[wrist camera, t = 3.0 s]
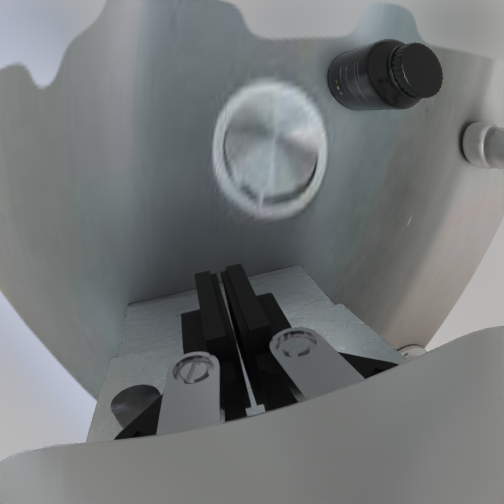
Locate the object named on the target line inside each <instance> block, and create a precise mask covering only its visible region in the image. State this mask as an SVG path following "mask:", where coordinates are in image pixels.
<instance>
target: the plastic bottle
mask: <svg viewBox="0 0 504 504" xmlns="http://www.w3.org/2000/svg"><path fill="white" fill-rule="evenodd" d="M462 146H463V151H464V154H465V156H466V158H467V159H468V160H469V162H470V163H471V164H473V165H475V166H477V167H480V168H498V169H504V128H501V127H497V126H495V125H492V124H489V123H486V122H475V123H472V124H471V125H469V126H468V127H467V128H466V130H465V132H464V135H463V140H462Z"/></svg>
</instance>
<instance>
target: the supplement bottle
mask: <svg viewBox="0 0 504 504" xmlns="http://www.w3.org/2000/svg"><path fill="white" fill-rule="evenodd" d="M442 75H443V73H442V68H441V65H440V62H439V60H438V58H437V57H436V55H435V54H434V53H433V52H432V50H430V49H429V48H428V47H426V46H425V45H422V44H420V43H409V44H405V43H403V42H401V41H398V40H394V39H384V40H380V41H377V42H374V43H371V44H368V45H365V46H363V47H360V48H357V49H354V50H352V51H349V52H347V53H344V54H342V55H340V56H339V57H337V58H336V59H335V60H334V61H333V63H332V64H331V66H330V69H329V74H328V80H329V85H330V88H331V91H332V93H333V95H334V96H335V97H336V99H337V100H338V101H339V102H340V103H341V104H343V105H344V106H346V107H348V108H350V109H353V110H391V109H407V108H410V107H412V106H414V105H415V104H417V103H418V102H419V101H420V100H421V99H422V98H429V97H432V96H434V95H435V94H437V92H439V89H440V88H441V85H442V80H443V77H442Z"/></svg>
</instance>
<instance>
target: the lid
mask: <svg viewBox="0 0 504 504" xmlns="http://www.w3.org/2000/svg"><path fill="white" fill-rule="evenodd" d="M287 320H288V321H289V323H290V325H291V326H292V328H294V327H304V328H309V329H312V330H314V331H316V332H317V333H319V334H320V335H321V336H322V337H323V338H324V339H325V340H326V341H327V342H328V343H329V344H330V345H331V346H332V347H333V348H334V349H335V350H336V351H337V352H342V353H347V354H351V355H356V356H361V357H367V358H372V359H377V360H382V361H388V362H392V363H396V364H399V365H400V364H402V363H405V362H407V361H408V360H407V359H406V358H405V357H404V356H403V355H401V354H400V353H399V352H398V351H397V350H396V349H394V348H393V347H392V346H391V345H390V344H389V343H387V342H386V341H385V340H384V339H383V338H381V337H380V336H379V335H378V334H377V333H376V332H374V331H373V330H372V329H371V328H370V327H368V326H367V325H366V324H365V323H364V322H363V321H361V320H360V319H359V318H358V317H357V316H355V315H354V314H353V313H352V312H351V311H350V310H348V309H347V308H346V307H345V306H344V305H342V304H338V305H335V306H331V307H328V308H325V309H321V310H318V311H314V312H311V313H307V314H304V315H300V316H297V317H293V318H290V319H287ZM236 343H237V342H236ZM237 348H238V345H237ZM238 352H239V349H238ZM182 355H184V354H183V345H179V346H175V347H170V348H165V349H160V350H155V351H150V352H145V353H140V354H134V355H129V356H123V357H118V358H112V359H111V361H110V364H109V367H108V370H107V373H106V376H105V379H104V382H103V385H102V388H101V392H100V395H99V398H98V401H97V405H96V408H95V412H94V415H93V418H92V422H91V426H90V429H89V432H88V436H87V440H86V442H96V441H108V440H114V438H115V437H116V436H117V435H118V434H119V433H120V432H121V431H122V430H123V429H124V428H125V427H127V426H128V425H129V424H130V423H131V422H132V421H133V420H134V419H135V418H137V417H138V416H139V415H140V414H141V413H142V412H143V411H144V410H145V409H147V408H148V407H149V406H150V405H151V404H152V403H153V402H154V401H155V400H156V399H157V398H159V397H160V396H161V395H162V394H163V392H164V386H165V381H166V375H167V371H168V368H169V366H170V365H171V364H172V362H173V361H174V360H176V359H177V358H179V357H180V356H182ZM239 356H240V360H241V365H242V369H243V373H244V377H245V381H246V386H247V390H248V394H249V398H250V402H251V406H252V407H250V408H247V409H246V413H247V417H248V416H252V415H255V414H259V413H263V412H266V411H265V408H264V405H263V404H262V405H258V406H257V404H256V402H255V398H254V395H253V392H252V389H251V386H250V383H249V380H248V377H247V374H246V371H245V368H244V365H243V361H242V358H241V355H240V352H239Z"/></svg>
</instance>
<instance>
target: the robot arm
mask: <svg viewBox="0 0 504 504" xmlns="http://www.w3.org/2000/svg"><path fill="white" fill-rule="evenodd" d="M221 276H222V281H223V286H224V290H225V295H226V299H227V304H228V308H229V313H230V317H231V322H232V325H231V322H230V318H229V315H228V312H227V308H226V305H225V302H224V298H223V295H222V292H221V288H220V285H219V281H218V278H217V275H216V273H215V274H211V275H210V271H206V272H202V273H197V274H195V281H196V287H197V294H198V301H199V307H200V309H199V310H194V311H190V312H185V313H181V326H182V341H183V354H184V355H182V356H180V357H179V358H177V359H176V360H174V361H173V362H172V364H171V365H170V366H169V368H168V371H167V375H166V381H165V386H164V392H163V394H162V395H161V396H160V397H159V398H157V399H156V400H155V401H154V402H153V403H152V404H151V405H150V406H149V407H148V408H147V409H145V410H144V411H143V412H142V413H141V414H140V415H139V416H138V417H137V418H135V419H134V420H133V421H132V422H131V423H130V424H129V425H128V426H127V427H125V428H124V429H123V430H122V431H121V432H120V433H119V434H118V435H117V436H116V437H115V438H114V440H108V441H96V442H86V443H75V444H61V445H51V446H44V447H39V448H34V449H29V450H25V451H23V452H20V453H17V454H14V455H11V456H9V457H7V458H6V459H4V460H2V461H1V462H0V504H504V326H499V327H492V328H486V329H483V330H479V331H476V332H472V333H469V334H467V335H464V336H462V337H460V338H457V339H455V340H453V341H451V342H449V343H446V344H444V345H442V346H440V347H438V348H435V349H433V350H431V351H429V352H427V351H426V350H425V349H424V348H423V347H421V346H418V345H412V346H408V347H405V348H403V349H401V350H399V351H398V352H399V353H400V354H401V355H403V356H404V357H405V358H406V359H407V360H408V361H407V362H405V363H402V364H400V365H399V364H396V363H392V362H388V361H382V360H377V359H372V358H367V357H361V356H356V355H351V354H347V353H342V352H337V351H336V350H335V349H334V348H333V347H332V346H331V345H330V344H329V343H328V342H327V341H326V340H325V339H324V338H323V337H322V336H321V335H320V334H319V333H317V332H316V331H314V330H312V329H309V328H304V327H294V328H292V326H291V325H290V323H289V321H288V320H287V318H286V316H285V315H284V313H283V311H282V309H281V308H280V306H279V304H278V303H277V301H276V299H275V297H274V296H273V294H272V293H271V292H270V293H266V294H262V295H258V296H256V294H255V292H254V290H253V288H252V286H251V284H250V282H249V280H248V278H247V276H246V274H245V271H244V269H243V267H242V265H241V264H237V265H232V266H228V267H226V271H224V272H221ZM232 326H233V328H232ZM233 331H234V332H233ZM236 342H237V343H236ZM237 345H238V348H237ZM238 349H239V352H240V355H241V358H242V361H243V365H244V368H245V371H246V374H247V377H248V380H249V383H250V386H251V389H252V392H253V395H254V398H255V402H256V404H257V406H258V405H262V404H263V405H264V408H265V411H266V412H263V413H259V414H255V415H252V416H248V417H247V413H246V409H247V408H250V407H252V406H251V402H250V398H249V394H248V390H247V386H246V381H245V377H244V373H243V369H242V365H241V360H240V356H239V352H238Z"/></svg>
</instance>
